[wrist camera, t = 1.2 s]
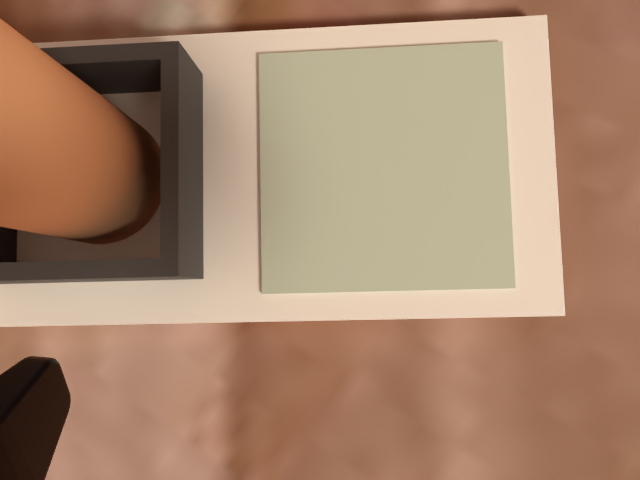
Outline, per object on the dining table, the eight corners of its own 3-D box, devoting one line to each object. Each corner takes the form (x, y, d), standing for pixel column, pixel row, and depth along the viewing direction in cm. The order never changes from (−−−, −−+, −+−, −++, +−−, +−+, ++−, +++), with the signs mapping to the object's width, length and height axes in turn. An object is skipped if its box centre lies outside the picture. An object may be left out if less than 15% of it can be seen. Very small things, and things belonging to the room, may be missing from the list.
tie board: (-42, 326, 24) (-124, 332, 20) (-32, 57, 25) (-108, 11, 21) (556, 314, 22) (598, 319, 18) (539, 27, 23) (575, -30, 19)
